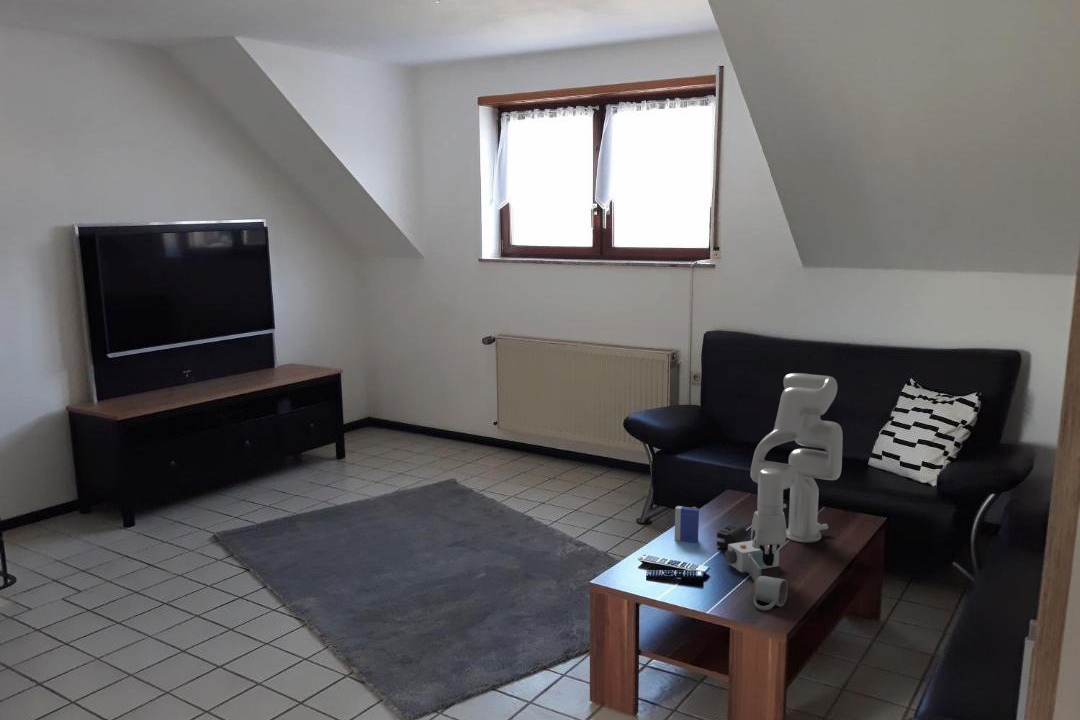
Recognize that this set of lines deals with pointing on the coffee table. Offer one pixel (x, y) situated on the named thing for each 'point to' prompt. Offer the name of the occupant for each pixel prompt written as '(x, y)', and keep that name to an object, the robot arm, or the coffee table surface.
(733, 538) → the power tool battery
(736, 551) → the camera body
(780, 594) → the ceramic mug
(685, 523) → the walkman
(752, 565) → the side door
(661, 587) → the coffee table surface
